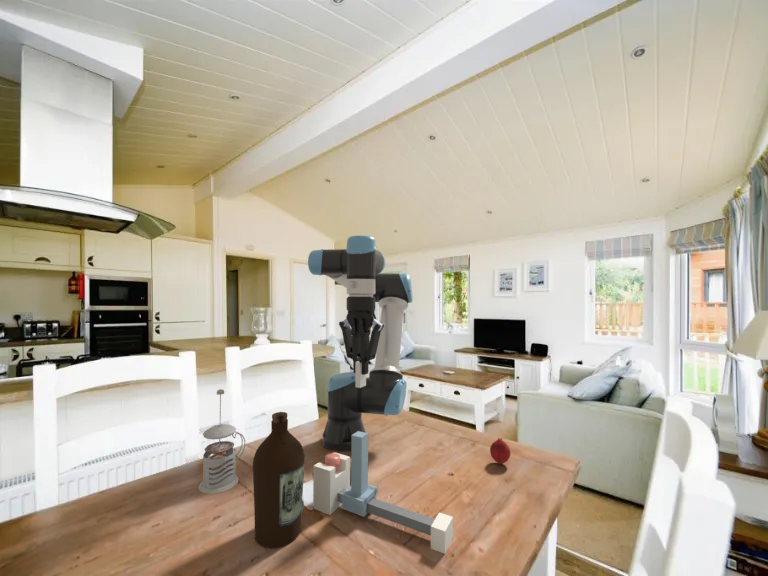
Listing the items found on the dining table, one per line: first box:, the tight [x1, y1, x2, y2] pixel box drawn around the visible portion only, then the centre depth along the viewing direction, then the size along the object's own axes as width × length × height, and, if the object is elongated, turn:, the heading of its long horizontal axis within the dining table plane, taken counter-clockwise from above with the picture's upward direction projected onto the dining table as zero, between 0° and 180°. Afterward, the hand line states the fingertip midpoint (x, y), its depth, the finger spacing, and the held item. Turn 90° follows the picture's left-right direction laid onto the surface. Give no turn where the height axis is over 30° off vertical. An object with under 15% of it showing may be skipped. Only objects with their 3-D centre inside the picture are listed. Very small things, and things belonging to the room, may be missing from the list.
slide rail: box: [312, 451, 454, 555], centre depth 77 cm, size 32×8×10 cm, turn 61°
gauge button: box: [324, 452, 340, 470], centre depth 83 cm, size 4×4×2 cm
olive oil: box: [252, 411, 306, 549], centre depth 73 cm, size 11×11×25 cm
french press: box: [197, 388, 246, 495], centre depth 92 cm, size 10×12×25 cm
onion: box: [489, 436, 511, 465], centre depth 103 cm, size 6×6×8 cm
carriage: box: [341, 431, 378, 517], centre depth 79 cm, size 6×6×17 cm
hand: (360, 386), depth 89 cm, fingers closed
